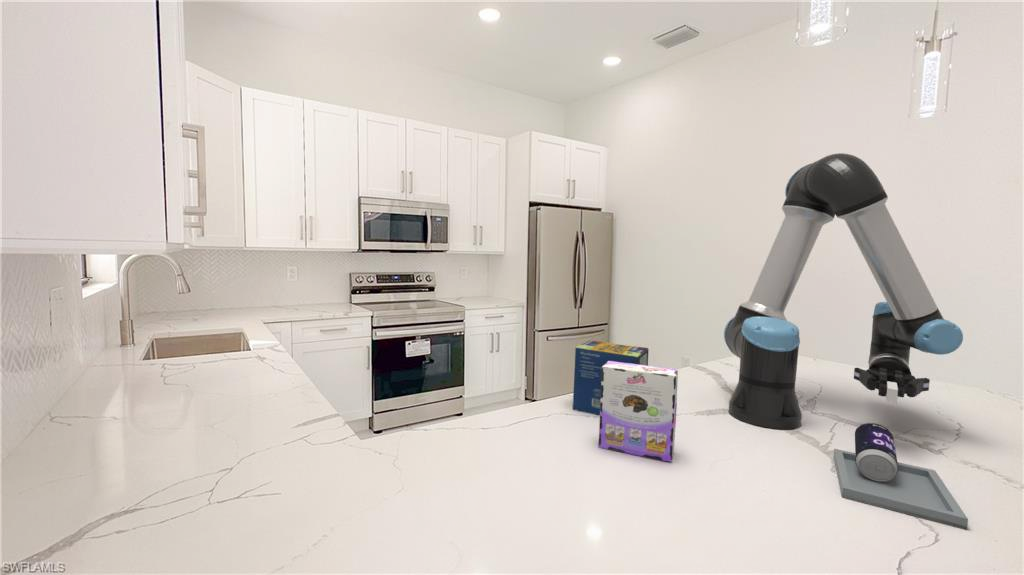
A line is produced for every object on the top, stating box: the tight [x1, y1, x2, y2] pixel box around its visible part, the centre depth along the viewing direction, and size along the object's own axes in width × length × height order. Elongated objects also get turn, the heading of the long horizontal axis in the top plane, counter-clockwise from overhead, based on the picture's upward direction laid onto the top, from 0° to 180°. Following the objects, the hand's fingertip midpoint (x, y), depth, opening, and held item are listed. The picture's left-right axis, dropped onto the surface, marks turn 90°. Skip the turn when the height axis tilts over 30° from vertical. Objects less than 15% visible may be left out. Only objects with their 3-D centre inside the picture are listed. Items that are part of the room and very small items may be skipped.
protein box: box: [572, 340, 650, 416], centre depth 107 cm, size 10×15×16 cm
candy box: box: [597, 361, 679, 463], centre depth 85 cm, size 14×6×16 cm, turn 65°
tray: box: [833, 448, 969, 530], centre depth 74 cm, size 14×17×2 cm
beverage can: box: [854, 422, 898, 482], centre depth 79 cm, size 6×6×12 cm
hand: (892, 395), depth 85 cm, fingers closed
